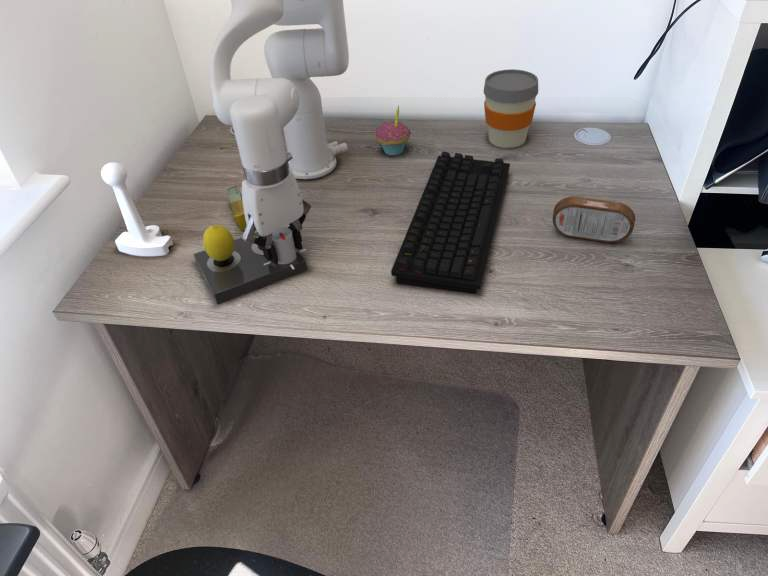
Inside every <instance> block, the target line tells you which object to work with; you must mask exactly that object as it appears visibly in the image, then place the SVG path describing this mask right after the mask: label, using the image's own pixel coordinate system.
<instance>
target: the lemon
mask: <svg viewBox="0 0 768 576" xmlns="http://www.w3.org/2000/svg"><path fill="white" fill-rule="evenodd" d="M234 240H235V239H234V237H233V235H232V233H231V232H230V230H229V229H228V228H227V227H225V226H223V225H221V224H213V225H210V226H209V227H208V228H207V229H206V230H205V231H204V233H203V237H202V245H203V248H204V250H205V251H206V253H207V254H208V255H209V256H210V257H211V258H212V259H214V260H218V261H224V260H226V259H228V258H229V257H230V256H231V255H232V253H233V251H234Z"/></svg>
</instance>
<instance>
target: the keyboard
mask: <svg viewBox="0 0 768 576" xmlns="http://www.w3.org/2000/svg"><path fill="white" fill-rule="evenodd" d="M510 168H511V163H509V162H505V161H504V158H503V157H502V158H495V159H494V161H493V160H492V161H491V160H484V159H475V158H474V156H473V155H470V154H469V155H467V154H465V155H463V153H460V152H455V153H454V156H451V154H450V152H449V151H442V152H441V154H440V155H437V157H436V160H435V163H434V165H433V168H432V170H431V172H430V175H429V177H428V180H427V182H426V184H425V187H424V190H423V192H422V195H421V197H420V199H419V200H418V201H419V202H418V204H417V207H416V209H415V211H414V213H413V216H412V219H411V220H410V223H409V226H408V229H407V231H406V233H405V235H404V238H403V240H402V243H401V245H400V248H399V250H398V253H397V255H396V258H395V260H394V263H393V265H392V267H391V270H390V274H391V276H392V277H395V280H396V284H398V285H405V286H411V287H420V288H424V289H425V288H426V289H434V290H442V291H447V292H456V293H462V294H463V293H464V294H469V295H470V294H471V295H477V292H478V290H481V288H482V284H483V279H484V275H485V271H486V267H487V263H488V258H489V255H490V250H491V247H492V242H493V238H494V235H495V230H496V226H497V221H498V217H499V213H500V208H501V205H502V200H503V197H504V192H505V189H506V184H507V179H508V176H509V172H510Z"/></svg>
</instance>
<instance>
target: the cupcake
mask: <svg viewBox="0 0 768 576" xmlns="http://www.w3.org/2000/svg"><path fill="white" fill-rule="evenodd" d="M399 116H400V105H398V106H397V108H396V110H395V119H394V120H395V121H388V122H386V121H385V122H382V123H381V124H380V125H379V126H378V127H376V128H375V129H376V130H375V132H374V140H375V141H376V142H377V143H378V144H380V146H381V147H382V150H383V152H384V153H385V154H386V155H388V156H398V155H401V154H402V153H403V152H404V150H405V146H406V143H408V141H409V139H410V138H411V133H412V132H411V129H410V128H409V127H408V126H407V125H405V123H404V122H400V121H399Z"/></svg>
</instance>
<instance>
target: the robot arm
mask: <svg viewBox="0 0 768 576" xmlns="http://www.w3.org/2000/svg"><path fill="white" fill-rule="evenodd" d="M230 1H231V13H230V15H229V17H228V19H227V20H226V22H225V24H224V25H223V26H222V27H221V29H220V31H219V33H218V34H217V36H216V38H215V41H214V43H213V46H212V50H211V52H210V58H209V80H210V81H209V82H210V91H211V92H210V93H211V101H212V107H213V110H214V114H215V116H216V117H217V119H218V121H219V122H220V123H222V124H223V125H226V126H232V129H233V133H234V137H235V140H236V141H235V142H236V146H237V149H238V154H239V157H240V161H241V166H242V170H243V173H244V179H243V180H242V181H241V195H242V201H243V209H244V215H245V220H246V224H247V226H246V229H245V230H243V234H242V236H241V237H242V239H243V240H244V241H245V242H247V243H252V244H256V245H259V246H262V249H263V253H264V257H265V259H266V260H268V261H271V262H272V263H274V264H275V265H276V264H277V263H278V258H277V254H276V250H275V247H274V246H273V245H272V233H273V232H275V231H277V230H279V229H281V228H283V227H287V228H289V229H291V231H292V234H293V239H294V244H295V248H296V249H298V250H299V251H300V250H303V249H304V248H303V244H302V243H303V238H302V234H301V232H302V230H303V224H304V223H305V220H306V218H307V215H308V214H309V212H310V210H311V208H312V205H311V204H310V203H309V202H307V201H305V200H304V199H303V197H302V194H301V191H300V190H301V189H300V188H299V184H298V181H297V180H313V179H318V178H321V177H324V176H327V175H329V174H330V173H331V172H333V171H334V169H335V168H336V166H337V157H336V156H337V154H339V153H343V152H347V151H348V150H349V149H348V145H347V143H346V142H343V143H339V142H338V141H337V140H336V141H332V142H330V143H328V140H327V139H328V138H327V132H326V124H325V118H324V111H323V102H322V96H321V92H320V90H319V89H318V87H317V85H316V84H315V82H314V81H313V80H312V79H311V78H320V77H321V78H323V77H336V76H341V75H343V74H344V73H346V71H347V70H348V68H349V62H350V61H349V60H350V55H349V54H350V53H349V42H348V34H347V26H346V18H345V17H346V16H345V9H344V0H230ZM273 25H275V26H284V27H285V26H287V27H288V26H289V27H290V26H306V25H308V26H309V25H319V26H320V27H319V28H297V29H284V30H279V31H275V32H273V33H271V34H270V35H268V37H266V40H265V41H264V44H263V45H264V46H263V50H264V51H263V52H264V58H265V62H266V65H267V68H268V70H269V73H270V76H271V77H268V78H267V77H265V78H242V79H239V78H238V79H231V68H232V67H231V65H232V61H233V58H234V56H235V54H236V52H237V51H238V49H240V47H241V46H242V45H243V44H244V43H245V42H246V41H248V40H249V39H250V38H252V37H253V36H255V35H257V34H259V33H260V32H262V31H263V30H266V29H267V28H269V27H271V26H273ZM283 134H284V137H283ZM284 141H285V142H284ZM285 145H286V147H285ZM255 231H256V232H258V236H255V235H254V233H256V232H255Z"/></svg>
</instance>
